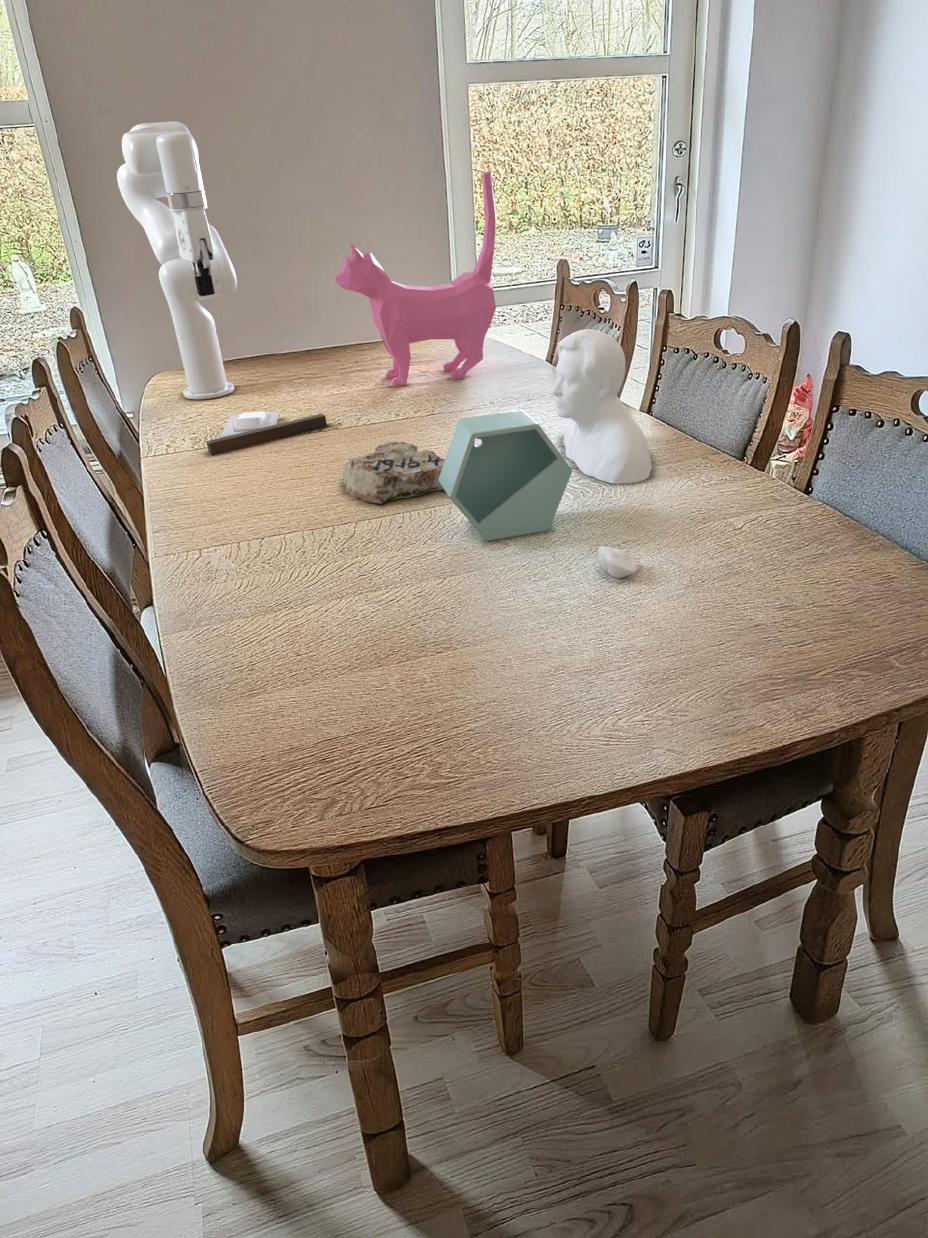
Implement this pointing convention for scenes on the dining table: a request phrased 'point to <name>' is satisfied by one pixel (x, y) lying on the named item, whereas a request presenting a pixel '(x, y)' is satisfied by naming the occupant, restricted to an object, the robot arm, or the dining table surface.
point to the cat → (429, 304)
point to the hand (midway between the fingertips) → (206, 294)
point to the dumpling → (616, 562)
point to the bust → (598, 410)
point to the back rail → (266, 434)
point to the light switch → (249, 422)
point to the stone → (393, 473)
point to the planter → (504, 474)
